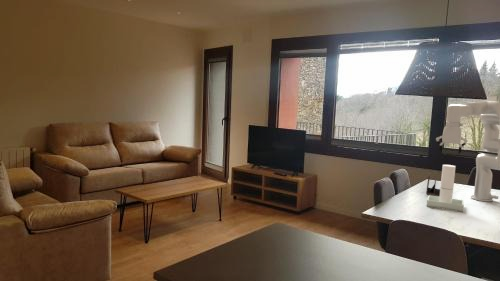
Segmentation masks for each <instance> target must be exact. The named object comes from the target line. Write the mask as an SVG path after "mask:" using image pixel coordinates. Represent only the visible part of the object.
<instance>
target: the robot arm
mask: <svg viewBox="0 0 500 281" xmlns="http://www.w3.org/2000/svg"><path fill="white" fill-rule="evenodd" d="M471 116H479V119H480V121H481V123H482V126H483V128H484V134H483V137H482V138H483V139H482V141H481V142H482V143H481V149H482V151H484V153H479V154H477V156H476V158H475V165H476V166H475V167H476V172H475V180H474V191H473V194H472V195H471V196H470V198H471V200H472V199H473V200H475V201H479V202H486V203H488V202H493V200H494V199H495V200H499V196H497V195H493V194H492V193H491V192H492V191H491V190H492V183H493V172H492V170H496V171H500V129H499V127H498V126H500V101H498V100H495V101H492V100H482V101H475V102H463V103H453V104H449V105H448V106H447V108H446V124H445V126H444V127H443V130H442V131H443V132H442V135H440V136H438V137H436V138H435V141H436V142H437V144H438V145H439V151H440V153H442V152H443V148H444V147H443V145H444V144H451V145H452V144H453V145H454V144H455V145H458V151H457V152H458V154H461V153H462V149H463V148H462V147H464V146H466V144H467V143H468V139H466V138H464V137H462V128H461V127H463V125H464V124H463V123H461V119H462V118H468V117H471ZM440 139H442V140H441V141H442V142H441V141H440ZM462 141H463V143H461V142H462ZM485 152H487V153H485ZM491 153H492V154H491ZM494 153H495V154H494ZM491 169H492V170H491Z"/></svg>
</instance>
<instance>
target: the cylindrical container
mask: <svg viewBox="0 0 500 281" xmlns="http://www.w3.org/2000/svg"><path fill="white" fill-rule="evenodd" d="M456 167H457V166H456V165H453V164H452V165H451V164H442V167H441V168H442V169H441V178H440V188H439V189H440V196H438V197H439V202H445V203H452V199H453V194H454V185H455V178H456Z"/></svg>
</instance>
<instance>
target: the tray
mask: <svg viewBox="0 0 500 281" xmlns="http://www.w3.org/2000/svg"><path fill="white" fill-rule="evenodd" d="M464 206H465V205H464V200H463V199H457V198H452V203H445V202H439V196H433V195H427V200H426V207H429V208H434V209H435V208H436V209H440V210H448V211H454V212H460V213H461V212H462V213H463V212H464Z"/></svg>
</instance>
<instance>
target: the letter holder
mask: <svg viewBox="0 0 500 281" xmlns="http://www.w3.org/2000/svg"><path fill="white" fill-rule="evenodd" d="M427 176H428V177H427V185H426V192H425V194H427V195H426V196H428V195H429V196H436V197H439V196H440V188H436V184H437V183H436V182H437V176H435V178H434V183H433V185H432V186H431V187H429V185H430V178H431V177H430V176H431V172H430V171H429V173H428V175H427Z"/></svg>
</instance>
